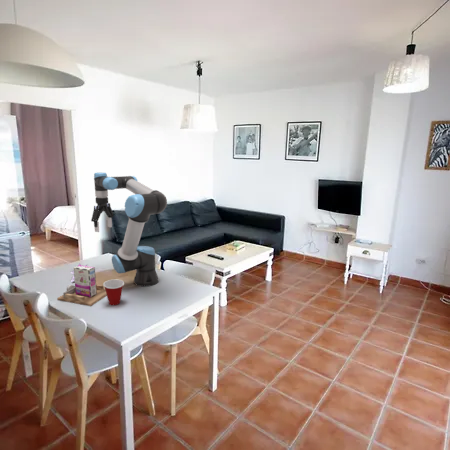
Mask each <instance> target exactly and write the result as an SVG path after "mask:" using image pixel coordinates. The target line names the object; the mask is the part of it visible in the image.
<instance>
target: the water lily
mask: <svg viewBox="0 0 450 450" xmlns="http://www.w3.org/2000/svg"><path fill="white" fill-rule="evenodd" d="M78 265H82V264H81V263H80V262H78ZM78 265H77V266H78ZM84 266H88V264H85V265H84ZM70 274H71V275H73V276H72V277H71V278H72V279H70V282H71V283H73V282H75V279H74V269H73V270H72V271H70Z"/></svg>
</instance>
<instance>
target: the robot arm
mask: <svg viewBox="0 0 450 450" xmlns="http://www.w3.org/2000/svg"><path fill="white" fill-rule="evenodd" d="M93 175H94V176H93V181H94V191H95V192H94V195H95V204H97V205H93V211H92V215H91V216H92V217H91V219H90V221H91V222H93V226H94V232H95V233H100V221H99V219H100V217H101V215H102V213H103V212H104V213H105V215H106V216H107V218H106V220H107V221H106V222H107V228H113V223H112V220H113V219H112V218H114V215H115V214H114V212H113V209H112V207H111V203H110V202H109V191H113V190H117V189H119V190H120V189H126V190H128V191H130V192H131V193H132V194H131V195H129V196H128V197H127V198H126V199H125V203H124V212H125V214H126V216H127V218H128V221H127V225H126V229H125V234H124V238H123V241H122V245H121V247H120V248H118V250H117V252H116V253H117V254H112V257H111V264H112V266H113V269H114V271H115V272H116V273H117V274H126V273H129V272H133V271H135V270H136V272H135V275H134V279H133V283H134V282H135V283H136V284H137V285H136V284H135V283H134V284H135V285H136V286H138V287H151V286H154V285H156V284H158V283H159V276H158V273H157V270H156V250H155V248H154V247H152V246H148V245H140V244H139V243H140V240H141V237H142V233H143V230H144V226H145V223H147V222H149V220H150V216H151V215H152V216H153V215H159V214H161V213H162V212H164V211H165V209H166V208H167V207H168V199H167V197H166V195H165V194H164V193H163V192H161V191H159V190H156V189H154V190H153V189H152V188H151V187H148V186H146V185H144V184H143V183H141V182H140V181H139V180H138V179H137V177H136V176H135V175H128V176H127V175H126V176H108V175H107V173H106V172H94V174H93Z"/></svg>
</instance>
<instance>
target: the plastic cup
mask: <svg viewBox="0 0 450 450" xmlns="http://www.w3.org/2000/svg"><path fill="white" fill-rule="evenodd" d="M102 285H103V287H104V290H106V294H107V296H106V299H107V301H108V304H109V305H110V306H117V305H119V304H120V303H121V301H122V299H121V298H122V294H123V293H122V292H123V287H124V285H125V282H124V280H122V279H116V278H114V279H108V280H105V281H104V282H103V284H102Z"/></svg>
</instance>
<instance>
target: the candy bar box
mask: <svg viewBox="0 0 450 450" xmlns="http://www.w3.org/2000/svg"><path fill="white" fill-rule="evenodd" d="M73 270H74V275H73V276H74V279H75V281H74V286H75V291H76V294H77V295H82V296H87V297H93V296H94V295H96V294H97V292H96V284H97V283H96V282H97V281H96V279H97V277H96V267H94V266H89V265H87V266H85V265H82V264H81V265H76V266H73Z"/></svg>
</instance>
